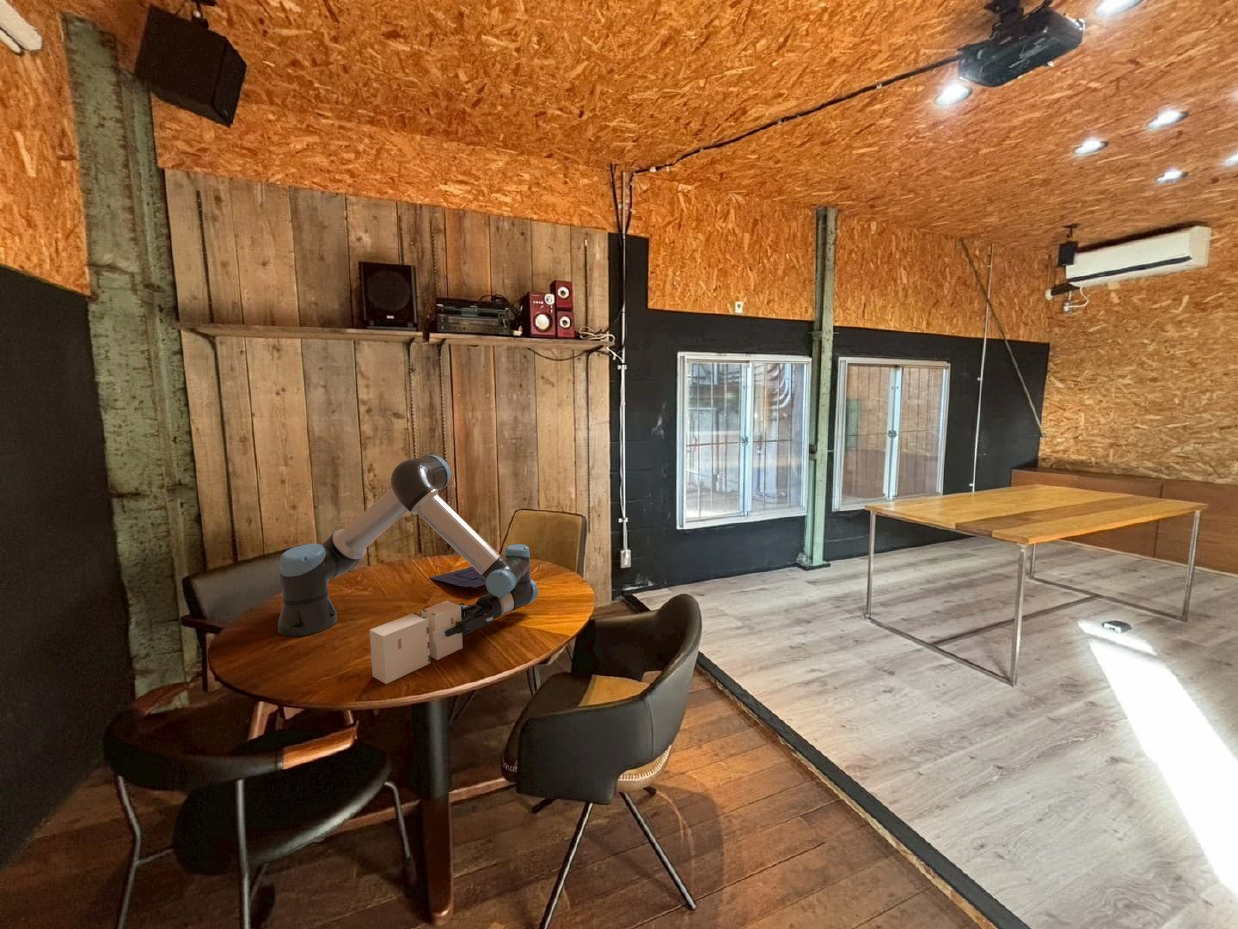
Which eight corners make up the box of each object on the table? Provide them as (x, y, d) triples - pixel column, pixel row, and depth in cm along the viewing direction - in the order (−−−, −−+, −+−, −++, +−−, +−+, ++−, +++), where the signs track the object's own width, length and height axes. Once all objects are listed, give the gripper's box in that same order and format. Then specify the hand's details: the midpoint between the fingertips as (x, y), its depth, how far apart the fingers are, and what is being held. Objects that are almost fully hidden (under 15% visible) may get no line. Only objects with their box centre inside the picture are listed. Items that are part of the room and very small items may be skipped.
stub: (423, 653, 137) (421, 609, 136) (448, 641, 144) (446, 600, 142) (437, 660, 134) (435, 615, 132) (462, 648, 140) (460, 605, 139)
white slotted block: (372, 676, 126) (369, 628, 124) (416, 656, 136) (414, 612, 134) (386, 684, 122) (383, 635, 121) (430, 663, 132) (428, 618, 130)
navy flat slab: (470, 597, 173) (469, 586, 173) (428, 585, 194) (427, 575, 194) (529, 578, 190) (528, 568, 190) (485, 569, 211) (484, 560, 211)
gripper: (517, 625, 147) (448, 658, 129) (473, 609, 158) (404, 638, 140) (516, 600, 146) (447, 630, 128) (472, 586, 157) (403, 611, 139)
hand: (425, 634), depth 134 cm, fingers closed on stub, 6 cm apart
